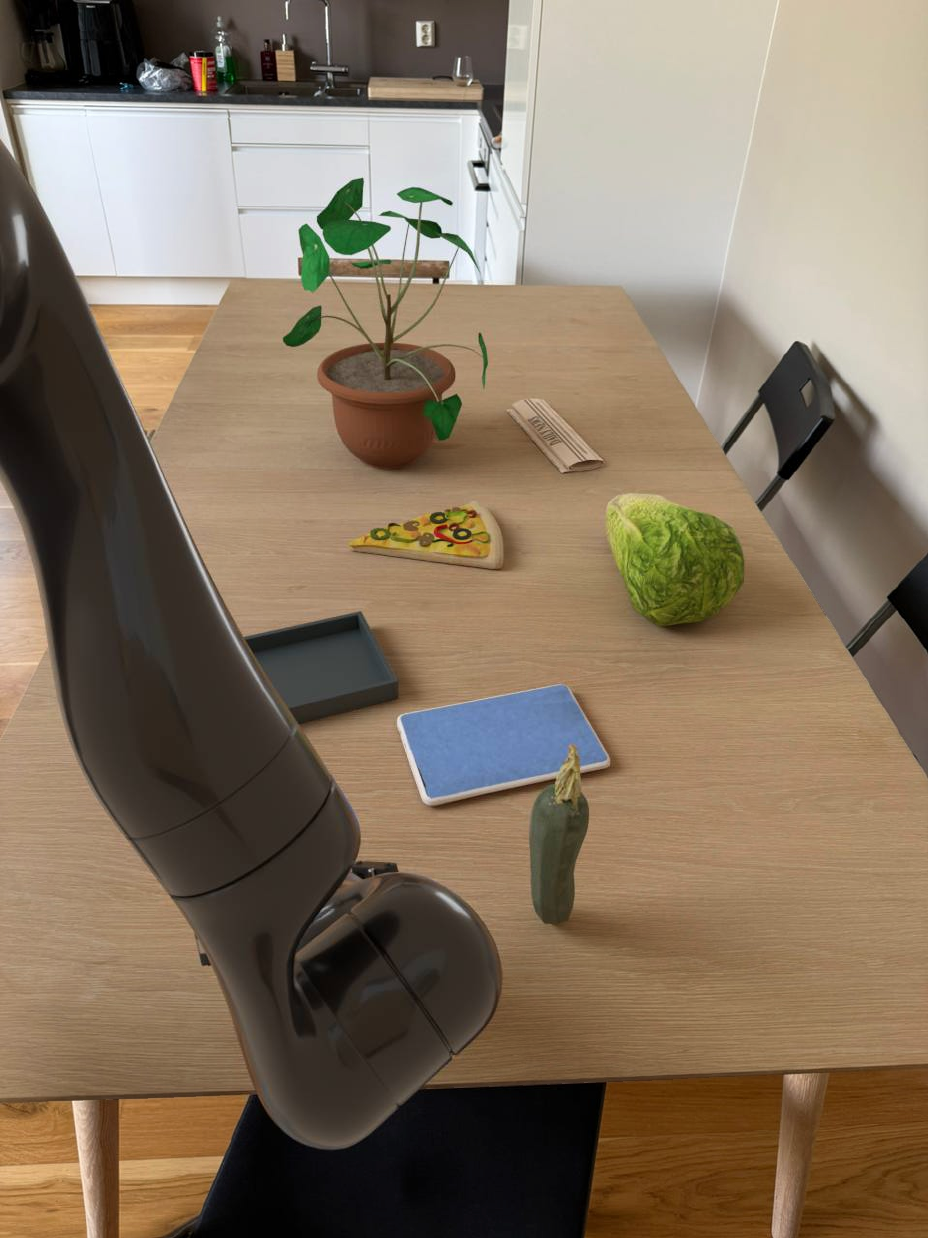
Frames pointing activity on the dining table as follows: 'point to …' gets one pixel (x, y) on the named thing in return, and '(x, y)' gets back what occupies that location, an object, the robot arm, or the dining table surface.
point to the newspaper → (554, 436)
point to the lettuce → (673, 558)
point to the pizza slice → (441, 538)
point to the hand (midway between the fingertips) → (287, 892)
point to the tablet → (497, 743)
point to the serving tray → (325, 666)
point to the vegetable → (557, 842)
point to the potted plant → (379, 344)
